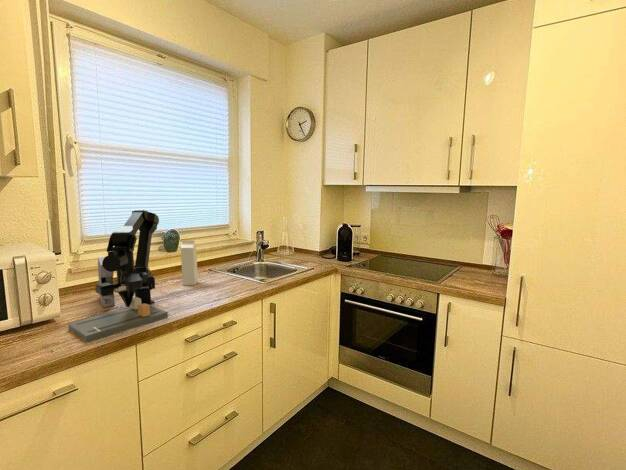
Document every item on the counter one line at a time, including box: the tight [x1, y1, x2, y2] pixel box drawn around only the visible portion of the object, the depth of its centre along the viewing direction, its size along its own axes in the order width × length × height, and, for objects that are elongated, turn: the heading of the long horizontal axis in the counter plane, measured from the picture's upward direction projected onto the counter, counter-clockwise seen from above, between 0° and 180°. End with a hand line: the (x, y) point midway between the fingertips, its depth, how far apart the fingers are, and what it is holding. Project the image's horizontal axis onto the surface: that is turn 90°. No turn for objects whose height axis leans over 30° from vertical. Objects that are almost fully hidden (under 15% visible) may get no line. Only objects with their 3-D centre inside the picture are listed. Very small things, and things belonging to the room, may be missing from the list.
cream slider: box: [129, 296, 141, 310], centre depth 125 cm, size 4×2×4 cm, turn 52°
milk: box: [180, 240, 199, 286], centre depth 166 cm, size 6×6×22 cm
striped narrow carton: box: [97, 256, 116, 308], centre depth 139 cm, size 19×5×18 cm, turn 35°
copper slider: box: [137, 303, 151, 317], centre depth 117 cm, size 4×2×4 cm, turn 52°
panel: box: [67, 303, 169, 343], centre depth 116 cm, size 16×26×2 cm, turn 142°
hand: (128, 306), depth 123 cm, fingers closed
